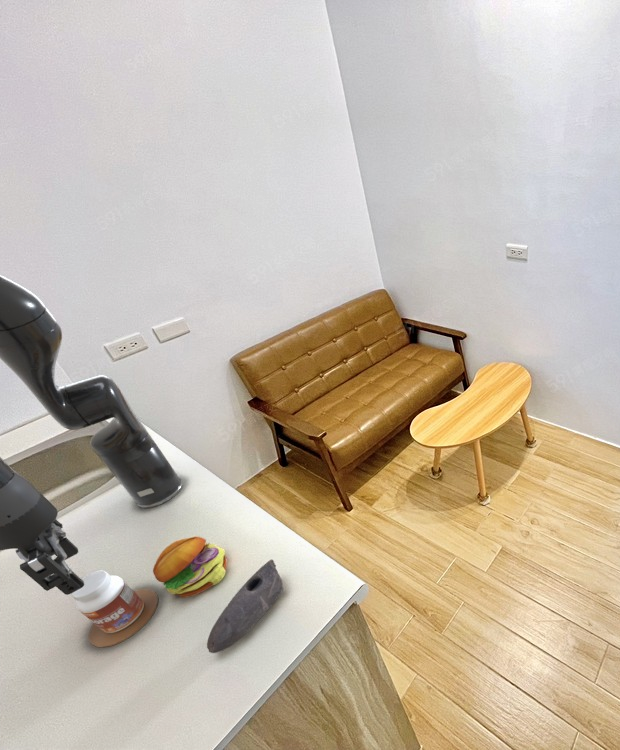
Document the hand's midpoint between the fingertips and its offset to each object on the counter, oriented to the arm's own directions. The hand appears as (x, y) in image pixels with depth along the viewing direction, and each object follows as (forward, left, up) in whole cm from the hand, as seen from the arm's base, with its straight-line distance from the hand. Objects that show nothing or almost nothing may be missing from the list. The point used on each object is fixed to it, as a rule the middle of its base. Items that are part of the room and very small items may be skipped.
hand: (73, 571), depth 64 cm
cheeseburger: (+2, +12, -15) cm, 19 cm away
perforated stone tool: (+18, +16, -15) cm, 29 cm away
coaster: (0, 0, -15) cm, 15 cm away
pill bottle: (0, 0, -15) cm, 15 cm away
